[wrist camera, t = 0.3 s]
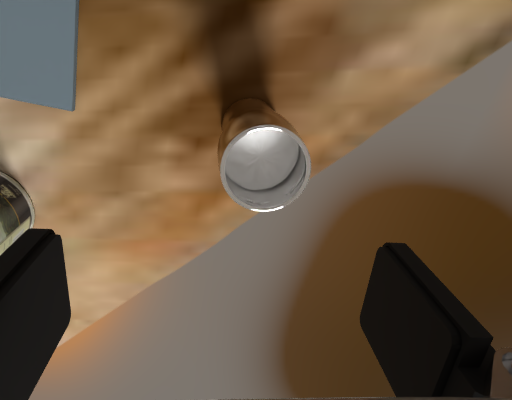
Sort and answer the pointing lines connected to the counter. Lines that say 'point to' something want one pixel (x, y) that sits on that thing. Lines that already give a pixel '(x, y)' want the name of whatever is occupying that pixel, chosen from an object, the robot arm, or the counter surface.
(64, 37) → the mat
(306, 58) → the counter surface
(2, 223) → the coffee can
